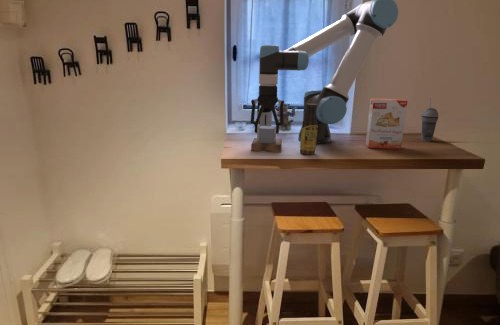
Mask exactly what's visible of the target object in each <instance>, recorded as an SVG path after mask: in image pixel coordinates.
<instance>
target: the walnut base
mask: <svg viewBox="0 0 500 325" xmlns="http://www.w3.org/2000/svg"><path fill="white" fill-rule="evenodd" d="M282 140H283V138H276V142H274V143H259V141H257V137H254V138H253V140H252V142H251V145H250V146H251V147H250V148H251V149H250V150H251V152H259V151H266V152H267V153H281V152H282V143H283V141H282ZM266 152H265V153H266Z"/></svg>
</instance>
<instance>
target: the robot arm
mask: <svg viewBox="0 0 500 325" xmlns="http://www.w3.org/2000/svg"><path fill="white" fill-rule="evenodd" d="M398 17H399V7H398V4H397V2H396V1H395V0H365V1H364V2H361V3H360V4H358V5H357V6H355V7H354V8H353V9H351V10H349V11H348V12H346V13H345V14H343V15H342V16H341V19H338V20H337V21H336V22H335V21H334V22H333V23H332V24H330V25H328V26H326V27H325V28H323V29H320V30H319V31H317V32H316V33H314V34H312V35H310V36H308V37H307V38H305V39H303V40H301V41H299V42H298V43H296V44H294V45H292V46H291V47H289V48H287V49H285V50H280V46H279V45H278V44H277V45H276V44H263V45H261V46H260V48H259V49H260V50H259V56H258V57H259V67H258V68H259V69H258V70H259V74H258V81H259V82H258V84H259V86H258V96H257V98H255V99H254V98H252V99H251V101H250V102H251V113H250V114H251V115H250V125H251V124H252V125H254V133H255V134H256V138H257V141H259V128H260V125H258V122H259V120H260V117H261V114H262V111H263V109H264V108H271V110H272V117H273V119H274V122H275V125H273V126H274V142H276V139H277V135H279V133H280V126H282V125H284V120H285V118H284V105H285V100H282V99H279V98H278V97H279V96H278V80H279V78H278V77H279V71H305V70H307V68H308V66H309V63H310V62H309V59H310V57H312V56H313V55H315V54H317V53H319V52H321V51H322V50H324V49H326V48H328V47H330V46H331V45H333V44H335V43H337V42H339V41H341V40H342V39H344V38H346V37H348V36H349V37H352V36H353V38H352V40H351V42H350V44H349V46H348V47H347V50H346V52H345V53H344V55H343V57H342V59H341V61H340V63H339V65H338V67H337V69H336V71H335V72H334V74H333V76H332V79H331V80H330V82H329V83H328V84H327V85H323V88H322V89H313V90H311V89H310V90H306V91H305V92H304V96H303V113H302V114H303V116H302V121H303V120H304V118H305V116H306V110H307V107H306V105H307V104H317V108H316V118H317V124H318V129H317V140H316V144H327V143H330V142H331V141H332V135H331V130H330V127H329V125H335V124H338V123H339V122H341V121H342V120H343V119H344V118H345V117H346V113H347V108H348V107H347V103H348V101H349V99H350V98H349V92H350V90H351V88H352V86H353V84H354V82H355V80H356V78H357V77H358V75H359V73H360V71H361V69H362V67H363V66H364V64H365V62H366V60H367V58H368V57H369V55H370V53H371V52H372V49H373V47H374V45H375V43H376V41H377V40H379V39H381V38H383V37H384V34H385V33H386V31H387V29H388V28H390V27H392V26H394V24H395V23H396V22H397V20H398ZM258 102H259V103H260V105H261V108H260V111H259V113H258V116H257V115H256V105H258ZM276 104H278V105H279V117H280V118H279V119H280V121H279V119H278V115H277V111H276V108H275V106H276ZM255 115H256V119H255ZM301 131H302V126H301V128H300V130H299V132H298V137H297V139H298V141H300V142H301Z"/></svg>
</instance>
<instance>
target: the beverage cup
mask: <svg viewBox="0 0 500 325" xmlns="http://www.w3.org/2000/svg"><path fill="white" fill-rule="evenodd" d="M428 99H429V101H428V102H429V104H428V107H427V108H425V109H424V110H423V111H422V114H421V132H420V134H421V139H420V140H421V141H422V142H426V143H427V142H429V143H430V142H433V137H434V133H435V130H436V125H437V123H438V119H439V112H438V109H436V108H434V107H431V100H432V98H431V97H429V98H428Z"/></svg>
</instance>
